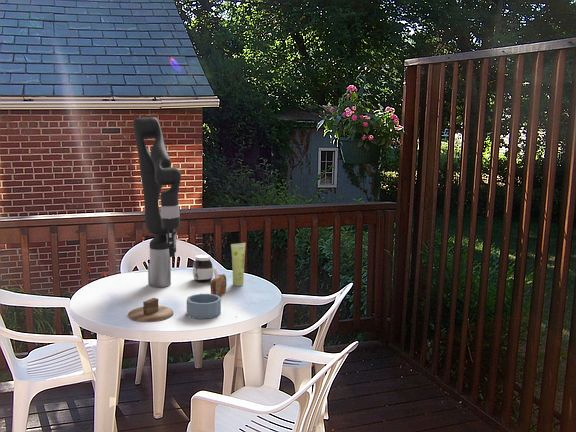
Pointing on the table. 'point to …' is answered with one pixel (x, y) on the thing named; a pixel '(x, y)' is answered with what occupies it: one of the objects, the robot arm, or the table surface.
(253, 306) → the table surface
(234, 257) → the tube
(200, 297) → the bowl
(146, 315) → the lid
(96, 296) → the table surface
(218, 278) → the brown thin box
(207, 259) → the spread jar
